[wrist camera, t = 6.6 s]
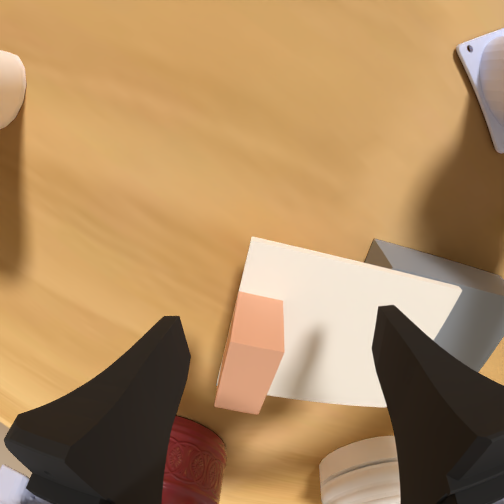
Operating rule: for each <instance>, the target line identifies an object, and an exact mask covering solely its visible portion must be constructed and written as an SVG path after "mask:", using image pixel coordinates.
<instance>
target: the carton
mask: <svg viewBox="0 0 504 504" xmlns="http://www.w3.org/2000/svg"><path fill="white" fill-rule="evenodd" d="M364 263H367V264H371V265H375V266H379V267H384V268H388V269H392V270H396V271H400V272H404V273H408V274H412V275H416V276H420V277H424V278H428V279H432V280H436V281H440V282H444V283H448V284H452V285H456V286H459V287H460V288H461V290H462V292H461V294H460V296H459V298H458V300H457V301H456V303H455V305H454V307H453V309H452V310H451V312H450V314H449V316H448V317H447V319H446V321H445V322H444V324H443V326H442V327H441V329H440V331H439V332H438V334H437V336H436V337H435V339H434V340H433V341H434V342H436V343H437V344H438V345H439V346H440V347H442V348H443V349H444V350H446V351H447V352H448V353H449V354H451V355H452V356H453V357H455V358H456V359H458V360H459V361H461V362H462V363H464V364H465V365H467V366H468V367H470V368H471V369H473V370H474V371H476V372H479V371H480V369H481V368H482V367H483V365H484V364H485V362H486V361H487V360H488V358H489V357H490V355H491V354H492V353H493V351H494V350H495V348H496V347H497V345H498V344H499V342H500V341H501V339H502V338H503V336H504V279H503V278H502V277H501V276H499V275H496V274H493V273H490V272H487V271H484V270H480V269H477V268H474V267H471V266H468V265H464V264H461V263H458V262H454V261H451V260H448V259H444V258H441V257H438V256H434V255H431V254H427V253H424V252H421V251H417V250H414V249H410V248H407V247H403V246H399V245H396V244H392V243H389V242H385V241H381V240H378V239H374V240H373V242H372V245H371V248H370V250H369V253H368V255H367V258H366V260H365V262H364Z"/></svg>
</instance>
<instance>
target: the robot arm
mask: <svg viewBox="0 0 504 504" xmlns="http://www.w3.org/2000/svg"><path fill="white" fill-rule="evenodd" d="M467 46H468V47H469V49H470V52H469V51H468V50H467ZM456 51H457V54H458V56H459V58H460V60H461V62H462V64H463V66H464V68H465V70H466V72H467V75H468V77H469V79H470V82H471V84H472V86H473V89H474V91H475V93H476V96H477V98H478V101H479V103H480V106H481V109H482V111H483V114H484V117H485V120H486V123H487V125H488V128H489V131H490V134H491V138H492V141H493V144H494V147H495V150H496V151H497V152H498V153H501V154H502V153H504V28H502V29H499V30H496V31H494V32H491V33H488V34H485V35H482V36H480V37H477V38H474V39H471V40H469V41H466V42H464V43H461V44H459V45H457V47H456ZM372 354H373V359H374V364H375V369H376V373H377V376H378V380H379V383H380V386H381V389H382V392H383V395H384V398H385V402H386V405H387V408H388V411H389V415H390V418H391V422H392V426H393V430H394V437H395V443H396V450H397V458H398V467H399V479H400V499H401V504H504V386H503V385H501V384H499V383H497V382H495V381H492V380H491V379H489V378H487V377H485V376H483V375H481V374H480V373H478V372H476V371H474V370H473V369H471V368H470V367H468V366H467V365H465V364H464V363H462V362H461V361H459V360H458V359H456V358H455V357H453V356H452V355H451V354H449V353H448V352H447V351H446V350H444V349H443V348H442V347H440V346H439V345H438V344H437V343H436V342H434V341H433V340H432V339H431V338H430V337H429V336H427V335H426V334H425V333H424V332H423V331H422V330H421V329H420V328H419V327H417V326H416V325H415V324H414V323H413V322H412V321H411V320H410V319H409V318H408V317H407V316H406V315H405V314H403V313H402V312H401V311H400V310H399V309H398V308H397V307H396V306H395V305H387V306H378V311H377V318H376V324H375V331H374V337H373V342H372ZM190 358H191V355H190V352H189V348H188V345H187V342H186V338H185V335H184V331H183V328H182V324H181V320H180V317H179V316H164V317H163V318H161V319H160V320H159V321H158V322H157V323H156V324H155V325H154V326H153V327H152V328H151V329H150V330H149V331H148V332H147V333H146V334H145V335H144V336H143V337H142V338H141V339H140V340H139V341H138V342H136V343H135V344H134V345H133V346H132V347H131V348H130V349H129V350H128V351H127V352H126V353H124V354H123V355H122V356H121V357H120V358H119V359H118V360H116V361H115V362H114V363H113V364H112V365H111V366H109V367H108V368H107V369H105V370H104V371H103V372H102V373H100V374H99V375H97V376H96V377H95V378H93V379H92V380H90V381H89V382H87V383H86V384H84V385H82V386H81V387H79V388H77V389H75V390H74V391H72V392H70V393H69V394H67V395H65V396H63V397H61V398H59V399H57V400H55V401H53V402H50V403H48V404H46V405H44V406H41V407H38V408H36V409H33V410H30V411H27V412H24V413H21V414H18V416H17V417H16V419H15V421H14V423H13V424H12V426H11V428H10V430H9V431H8V433H7V435H6V437H5V438H4V442H5V445H6V447H7V448H8V450H9V451H10V452H11V453H12V454H13V455H14V456H15V457H16V458H17V459H18V460H19V461H20V462H21V463H22V464H23V465H24V466H26V467H27V468H28V469H29V470H30V471H31V472H32V475H31V477H30V478H28V477H27V476H25V475H24V474H22V473H20V472H18V471H16V470H14V469H12V468H10V467H8V466H6V465H2V467H1V469H0V504H162V490H163V479H164V471H165V463H166V456H167V450H168V444H169V439H170V434H171V430H172V426H173V423H174V420H175V416H176V413H177V410H178V407H179V404H180V400H181V397H182V394H183V391H184V387H185V384H186V381H187V376H188V371H189V364H190Z"/></svg>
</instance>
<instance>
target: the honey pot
mask: <svg viewBox="0 0 504 504" xmlns="http://www.w3.org/2000/svg"><path fill="white" fill-rule="evenodd" d="M319 472H320V488H321V501H322V504H401V499H400V479H399V467H398V458H397V450H396V443H395V437H394V436H380V437H374V438H369V439H364V440H361V441H357V442H354V443H351V444H348V445H346V446H343V447H341V448H338V449H337V450H335V451H333V452H331V453H330V454H328V455H327V456H326V457H325V458H324V459H322V461H321V463H320V464H319Z"/></svg>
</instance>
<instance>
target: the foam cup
mask: <svg viewBox="0 0 504 504" xmlns="http://www.w3.org/2000/svg"><path fill="white" fill-rule="evenodd" d="M25 89H26V75H25V67H24V65H23V64H22V62H21V60H20V58H19V56H17V55H14V54H12V53H9V52H5V51H1V50H0V130H1V129H2V128H4V127H6V126H7V125H8V124H9V123H10V122H12V121H13V120H14V119H15V118H16V116H17V114H18V112H19V110H20V108H21V106H22V104H23V100H24V94H25Z"/></svg>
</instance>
